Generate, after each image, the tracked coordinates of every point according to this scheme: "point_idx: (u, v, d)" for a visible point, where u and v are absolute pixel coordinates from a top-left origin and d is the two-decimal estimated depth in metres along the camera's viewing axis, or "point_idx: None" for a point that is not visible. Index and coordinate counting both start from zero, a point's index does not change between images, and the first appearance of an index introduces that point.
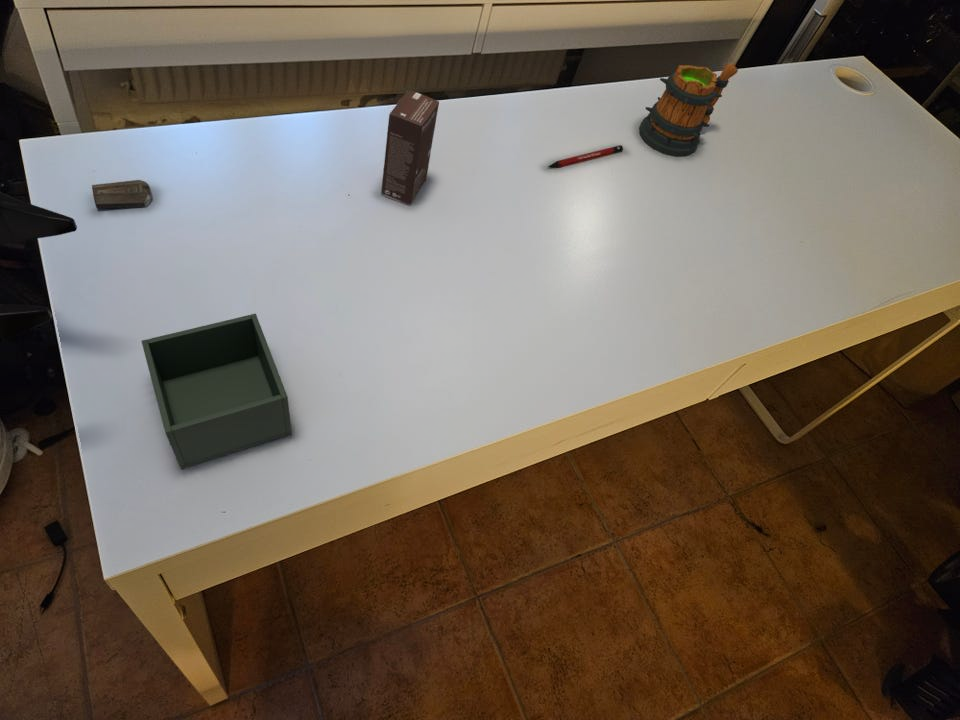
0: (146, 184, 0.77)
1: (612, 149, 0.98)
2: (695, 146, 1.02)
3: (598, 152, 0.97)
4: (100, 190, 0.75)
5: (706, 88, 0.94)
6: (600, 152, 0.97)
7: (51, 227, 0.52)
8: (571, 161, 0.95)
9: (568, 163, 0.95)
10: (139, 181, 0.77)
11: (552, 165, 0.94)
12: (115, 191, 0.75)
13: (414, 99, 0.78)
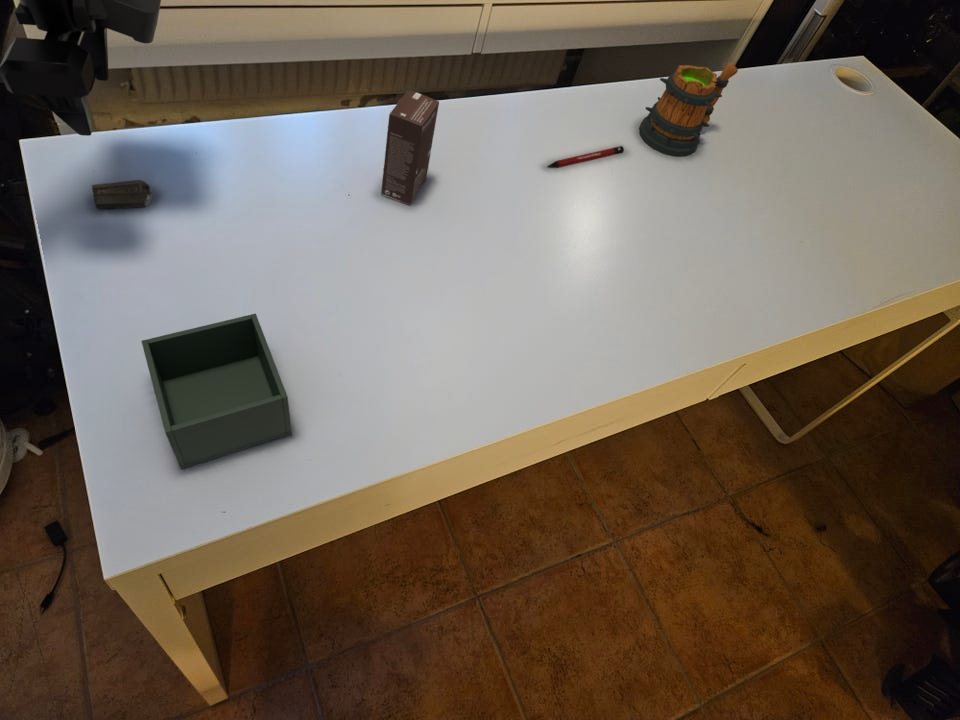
0: (146, 184, 0.77)
1: (612, 150, 0.98)
2: (695, 146, 1.02)
3: (598, 152, 0.97)
4: (100, 190, 0.75)
5: (706, 88, 0.94)
6: (600, 152, 0.97)
7: (95, 65, 0.68)
8: (571, 161, 0.95)
9: (568, 162, 0.95)
10: (139, 181, 0.77)
11: (551, 165, 0.94)
12: (115, 191, 0.75)
13: (414, 99, 0.78)
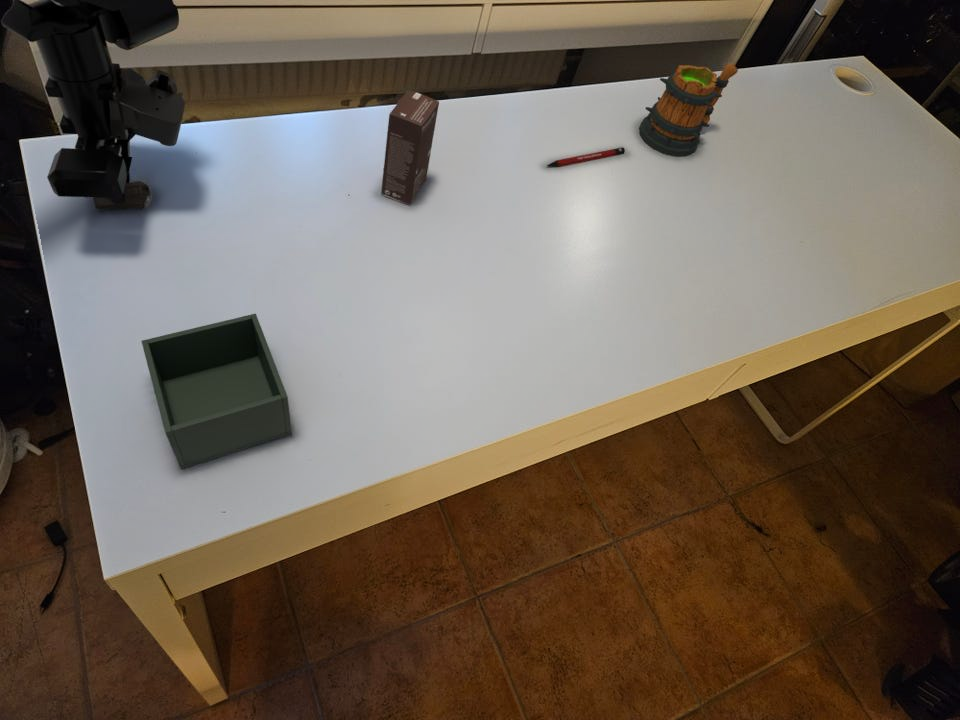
0: (146, 185, 0.76)
1: (613, 151, 0.98)
2: (695, 146, 1.02)
3: (599, 153, 0.97)
4: None
5: (706, 88, 0.94)
6: (601, 153, 0.97)
7: None
8: (571, 161, 0.95)
9: (568, 162, 0.95)
10: (139, 182, 0.77)
11: (551, 164, 0.94)
12: None
13: (414, 99, 0.78)
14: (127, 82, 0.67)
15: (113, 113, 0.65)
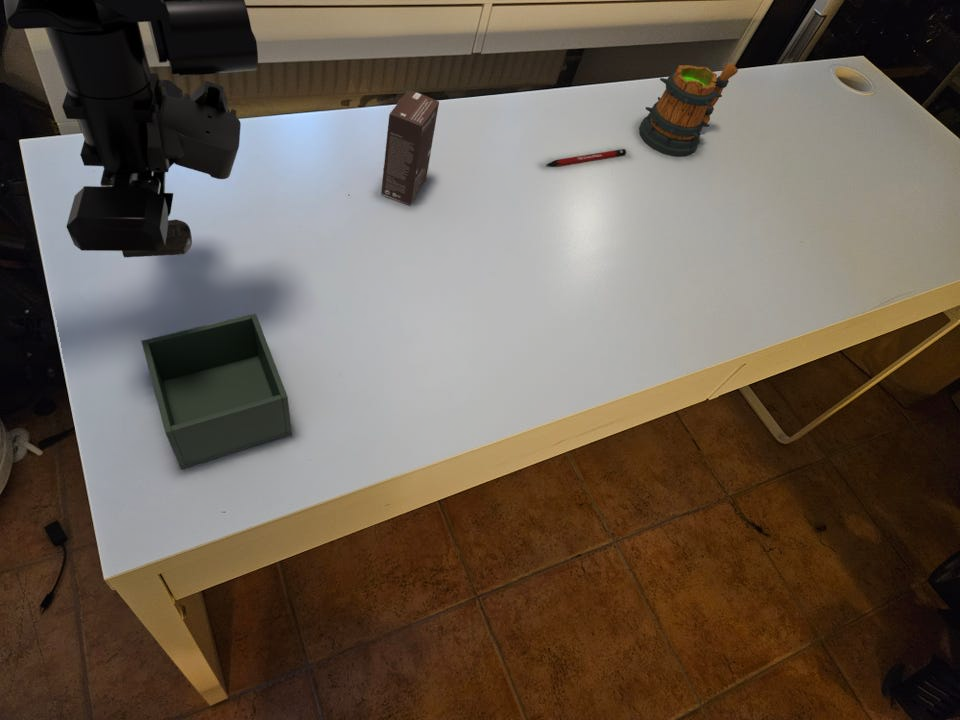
0: (185, 225, 0.61)
1: (614, 152, 0.98)
2: (695, 146, 1.02)
3: (599, 154, 0.97)
4: None
5: (706, 88, 0.94)
6: (601, 154, 0.97)
7: None
8: (570, 161, 0.95)
9: (567, 162, 0.95)
10: (176, 221, 0.61)
11: (550, 163, 0.94)
12: None
13: (414, 99, 0.78)
14: (168, 97, 0.51)
15: (151, 139, 0.49)
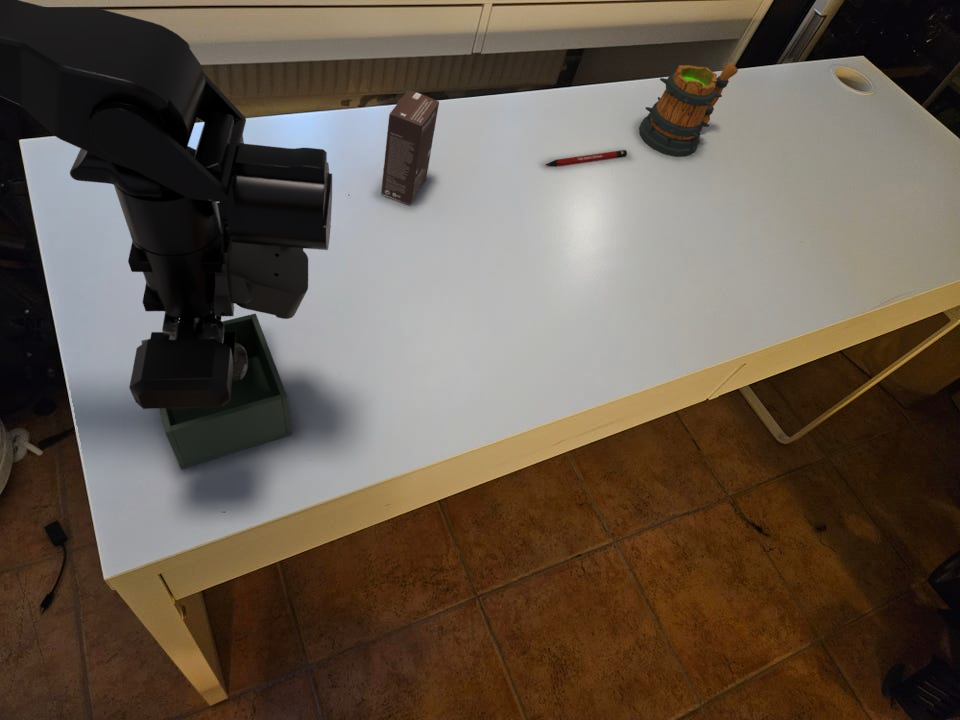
0: (242, 349, 0.58)
1: (615, 153, 0.98)
2: (695, 146, 1.02)
3: (600, 155, 0.97)
4: None
5: (706, 88, 0.94)
6: (602, 155, 0.97)
7: None
8: (570, 161, 0.95)
9: (567, 162, 0.95)
10: None
11: (550, 163, 0.94)
12: None
13: (414, 99, 0.78)
14: None
15: (219, 288, 0.46)
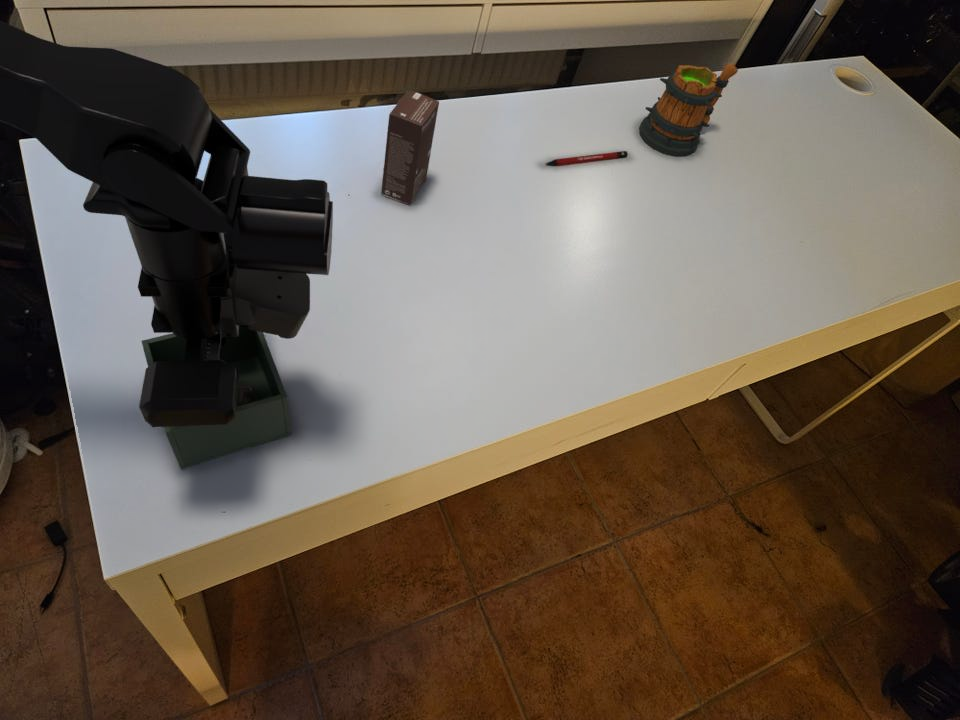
0: (249, 390, 0.62)
1: (615, 154, 0.98)
2: (695, 146, 1.02)
3: (600, 155, 0.97)
4: None
5: (706, 88, 0.94)
6: (602, 155, 0.97)
7: None
8: (570, 161, 0.95)
9: (567, 162, 0.95)
10: (242, 384, 0.63)
11: (550, 163, 0.94)
12: None
13: (414, 99, 0.78)
14: None
15: (224, 311, 0.48)
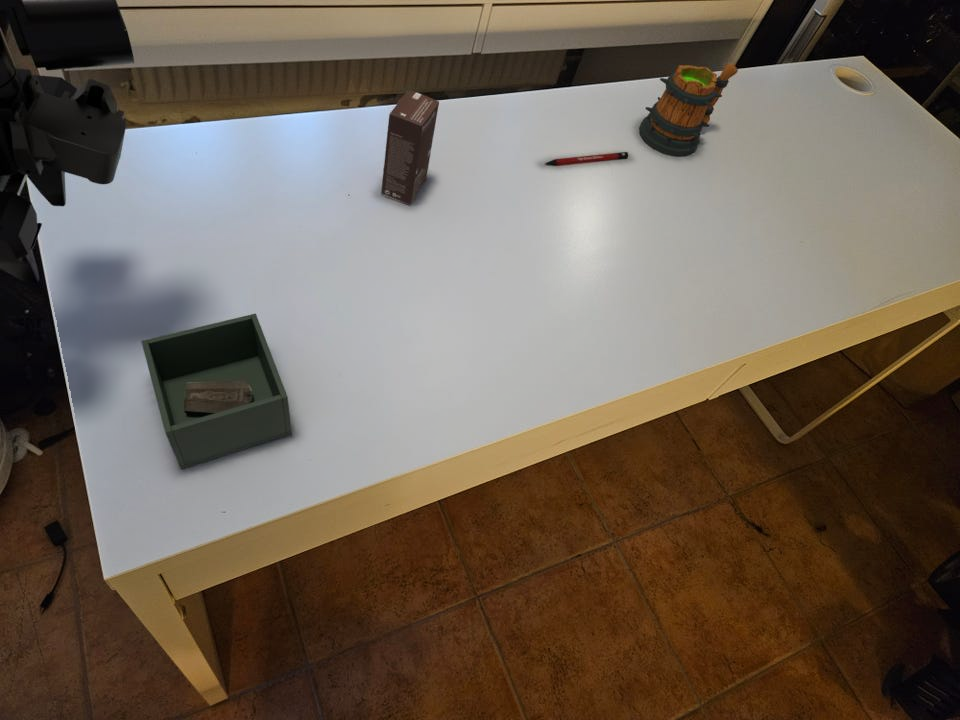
0: (249, 390, 0.62)
1: (616, 154, 0.98)
2: (695, 146, 1.02)
3: (600, 155, 0.97)
4: (194, 393, 0.61)
5: (706, 88, 0.94)
6: (603, 156, 0.97)
7: (49, 190, 0.58)
8: (570, 161, 0.95)
9: (567, 162, 0.95)
10: (242, 384, 0.63)
11: (549, 162, 0.94)
12: (211, 396, 0.61)
13: (414, 99, 0.78)
14: (42, 95, 0.48)
15: (16, 139, 0.46)
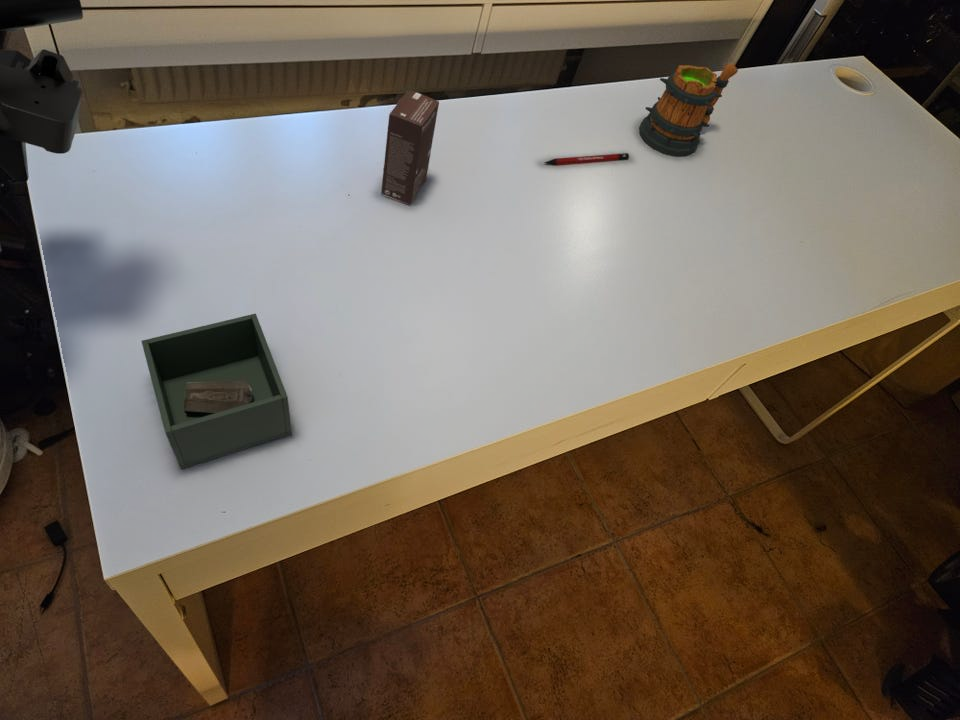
0: (249, 390, 0.62)
1: (616, 155, 0.97)
2: (695, 146, 1.02)
3: (601, 156, 0.97)
4: (194, 393, 0.61)
5: (706, 88, 0.94)
6: (603, 156, 0.97)
7: (11, 165, 0.58)
8: (570, 160, 0.95)
9: (567, 162, 0.95)
10: (242, 384, 0.63)
11: (549, 161, 0.94)
12: (211, 396, 0.61)
13: (414, 99, 0.78)
14: None
15: None
